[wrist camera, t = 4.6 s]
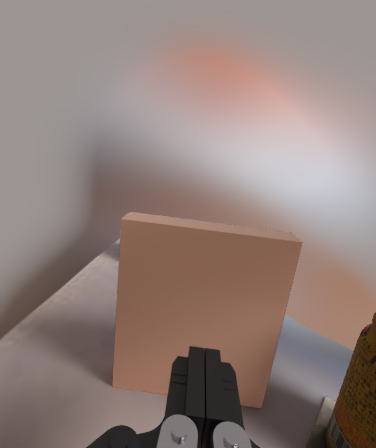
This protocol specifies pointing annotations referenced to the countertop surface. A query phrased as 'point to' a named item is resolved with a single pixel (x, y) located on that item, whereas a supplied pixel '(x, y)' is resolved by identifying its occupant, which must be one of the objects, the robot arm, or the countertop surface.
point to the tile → (200, 299)
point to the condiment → (351, 402)
